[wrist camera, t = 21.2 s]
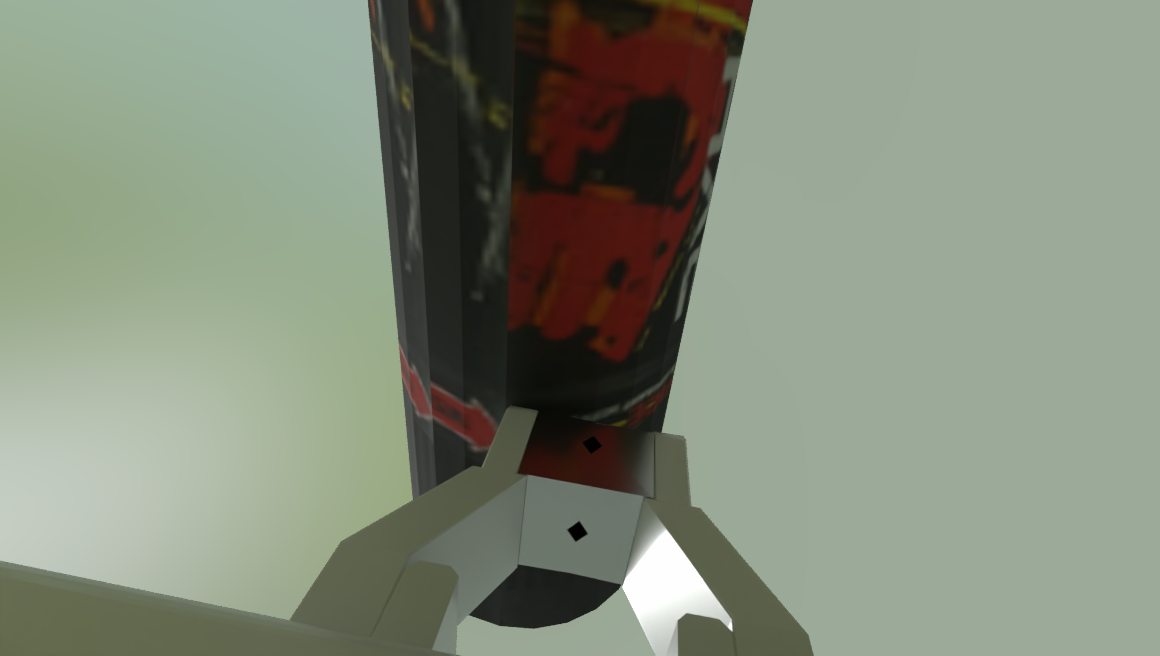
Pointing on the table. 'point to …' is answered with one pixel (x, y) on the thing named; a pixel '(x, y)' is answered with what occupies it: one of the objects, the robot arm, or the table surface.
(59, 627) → the robot arm
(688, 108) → the deodorant
